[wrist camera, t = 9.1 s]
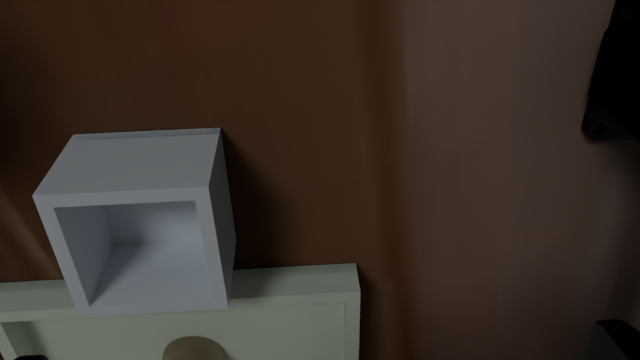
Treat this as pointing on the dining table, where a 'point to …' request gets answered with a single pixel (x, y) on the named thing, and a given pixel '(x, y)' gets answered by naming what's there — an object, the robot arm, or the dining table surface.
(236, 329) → the tray
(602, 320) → the robot arm
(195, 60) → the dining table surface
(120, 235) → the grey square sleeve
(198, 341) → the dowel
